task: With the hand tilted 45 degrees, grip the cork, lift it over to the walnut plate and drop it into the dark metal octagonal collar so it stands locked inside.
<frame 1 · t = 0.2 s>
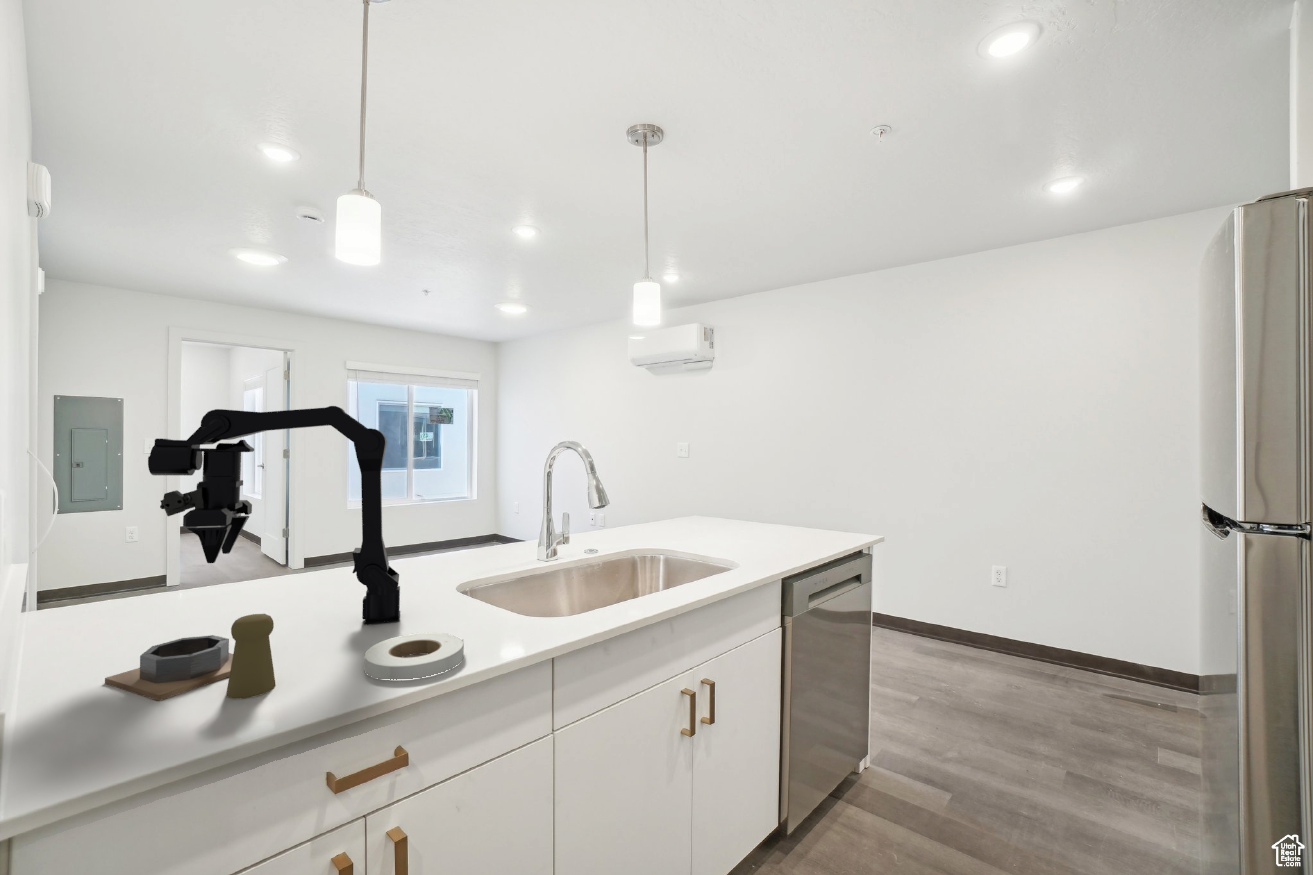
hand: (218, 558, 108), 15 cm above the worktop, tool pointing down, fingers open, 9 cm apart
cork: (251, 690, 85), on the worktop
walnut plate: (185, 674, 90), on the worktop
roll of tape: (415, 665, 96), on the worktop
metal collar: (186, 657, 90), on the walnut plate, point 3 cm above the worktop
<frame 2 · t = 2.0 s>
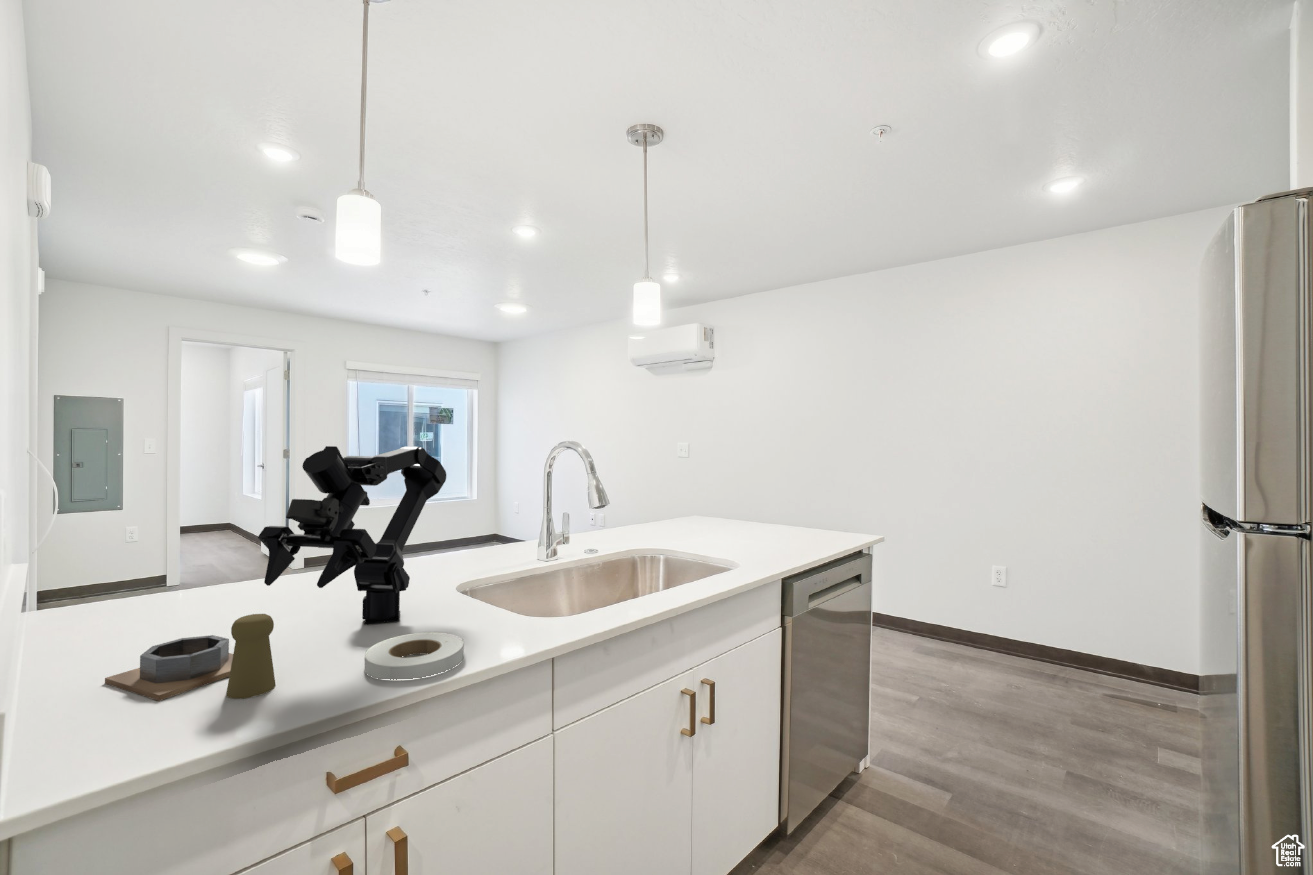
hand: (292, 585, 93), 13 cm above the worktop, tool tilted 45°, fingers open, 9 cm apart
nothing on the worktop moved.
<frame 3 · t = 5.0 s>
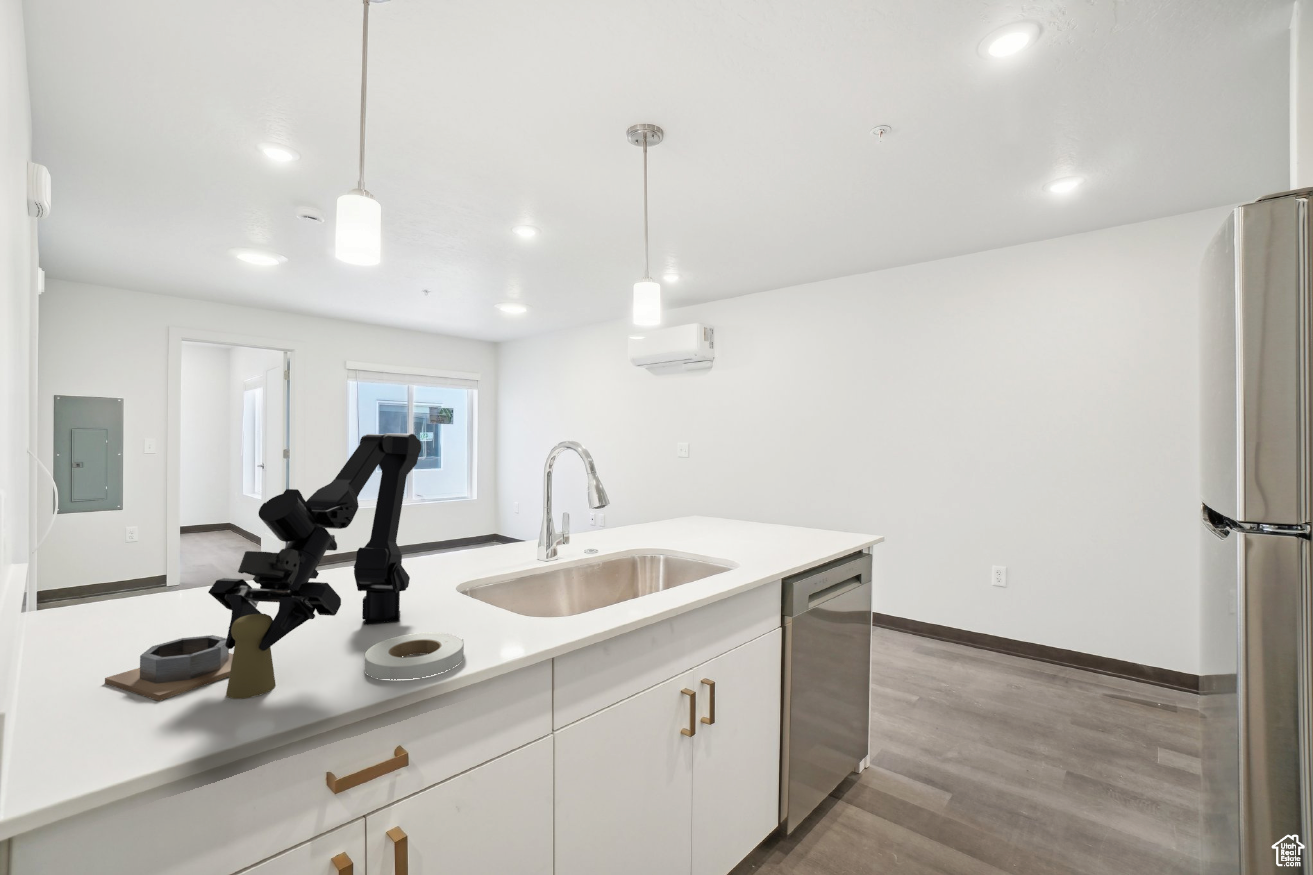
hand: (244, 648, 83), 7 cm above the worktop, tool tilted 45°, fingers closed on cork, 5 cm apart
cork: (251, 690, 85), on the worktop, touching gripper
everything else where it was.
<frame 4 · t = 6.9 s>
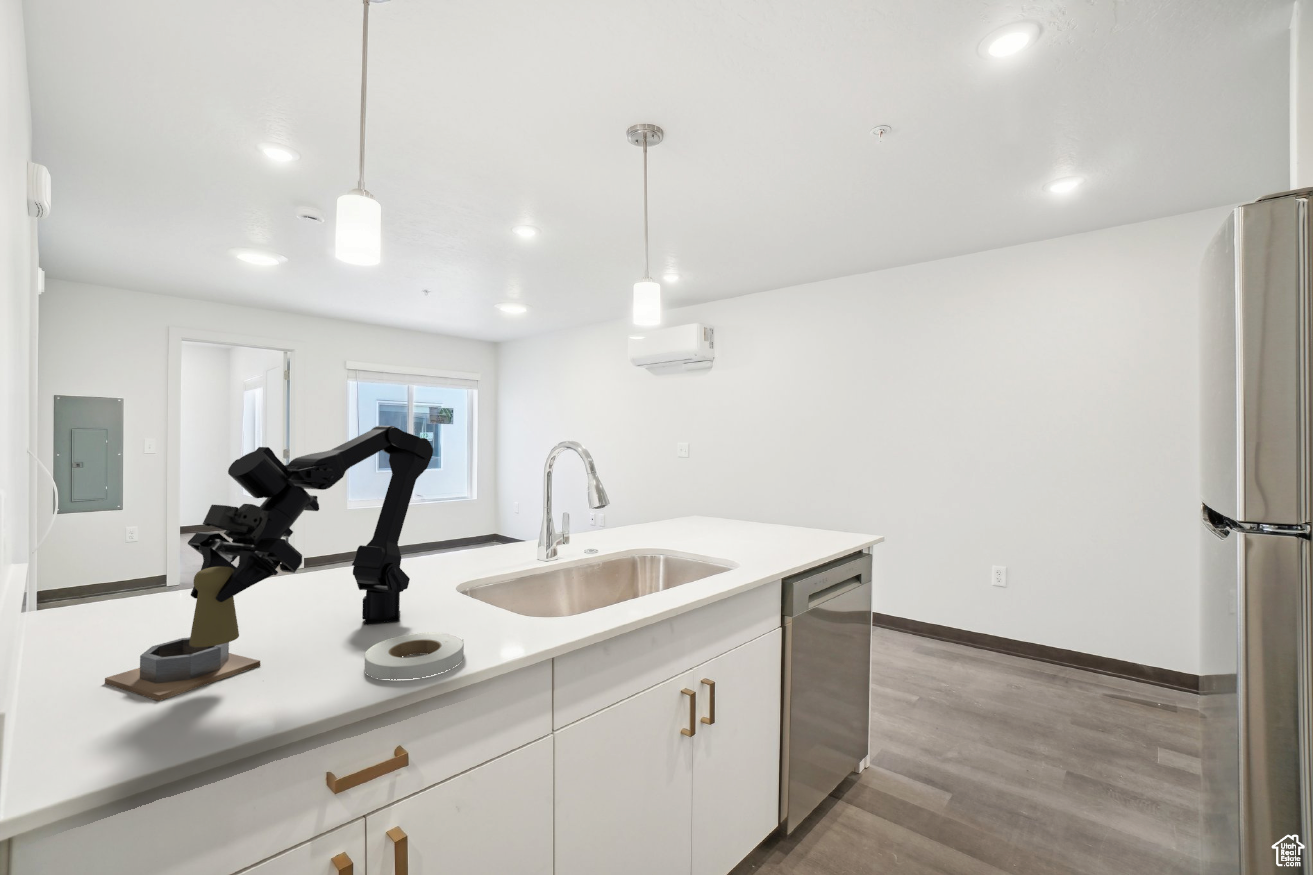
hand: (205, 598, 85), 13 cm above the worktop, tool tilted 45°, fingers closed on cork, 5 cm apart
cork: (214, 640, 87), point 6 cm above the worktop, touching gripper
everything else where it was.
when the fingers open (9 cm above the worktop, at t = 9.1 s): cork drops 1 cm, resting on walnut plate.
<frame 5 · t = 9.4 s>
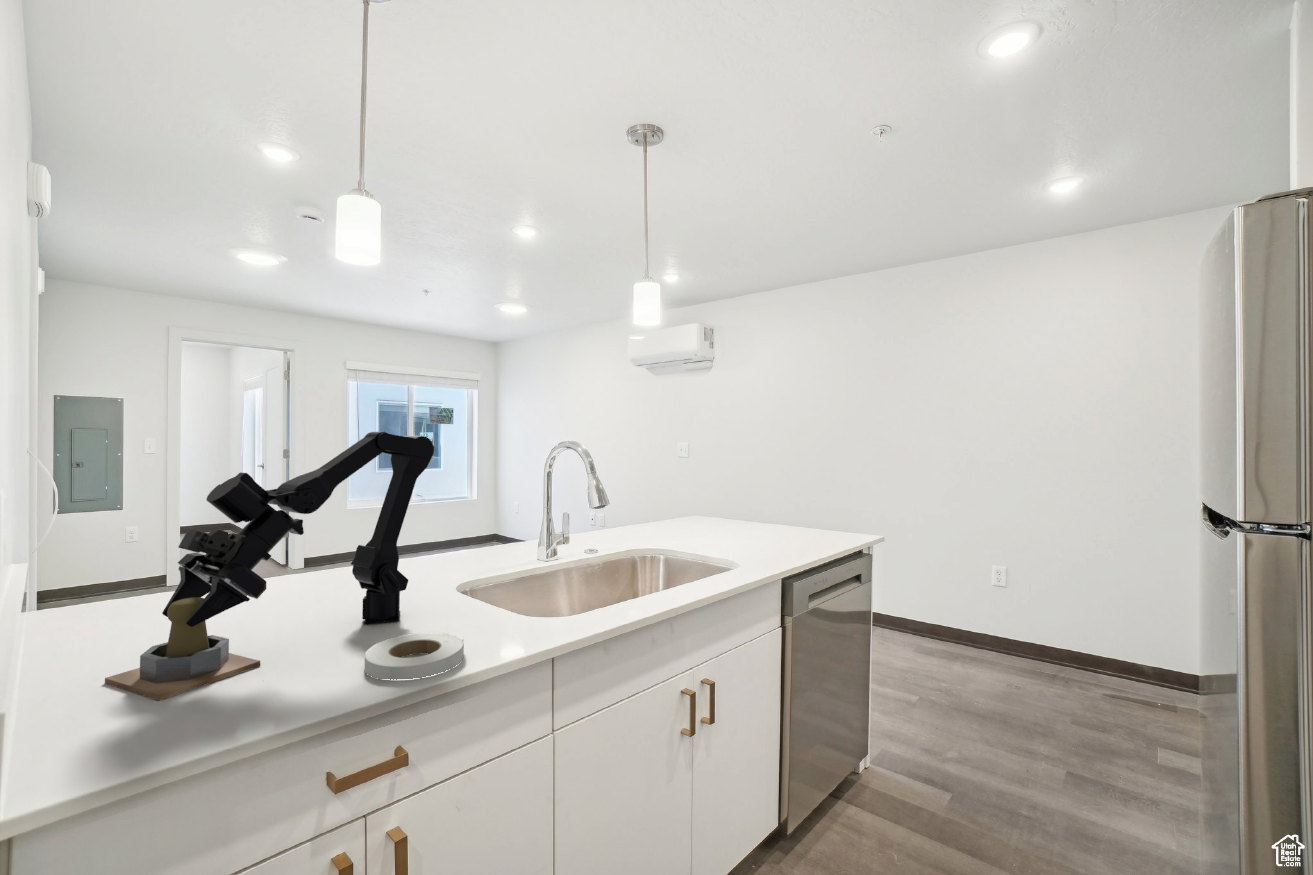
hand: (176, 620, 89), 9 cm above the worktop, tool tilted 45°, fingers open, 8 cm apart
cork: (187, 669, 90), point 1 cm above the worktop, touching walnut plate
everything else where it was.
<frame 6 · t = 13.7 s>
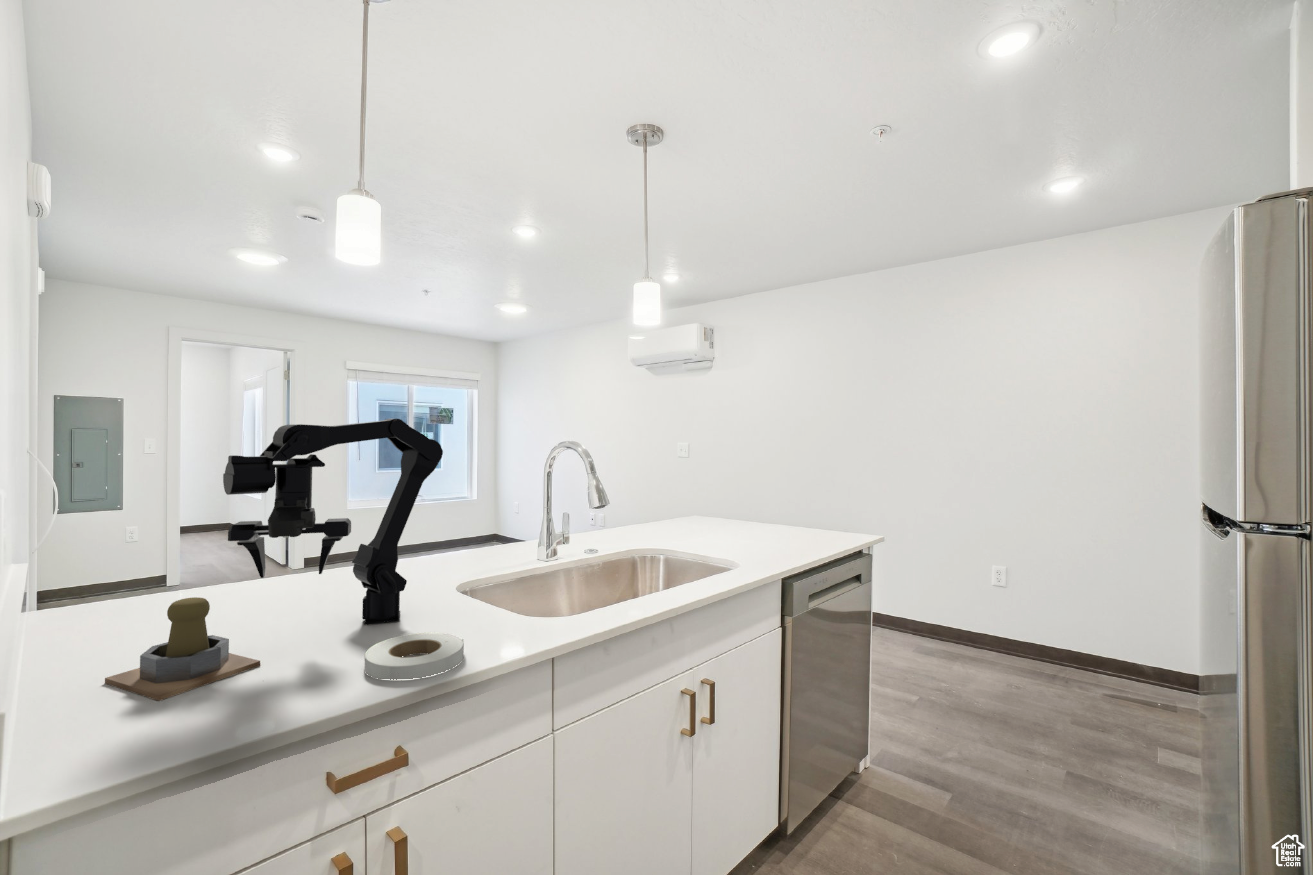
hand: (292, 575, 106), 12 cm above the worktop, tool pointing down, fingers open, 9 cm apart
nothing on the worktop moved.
at the end: cork 0.2 cm off-centre on the metal collar, point 0.6 cm above the metal collar's base; cork tilted 0°; the gripper is holding nothing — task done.
